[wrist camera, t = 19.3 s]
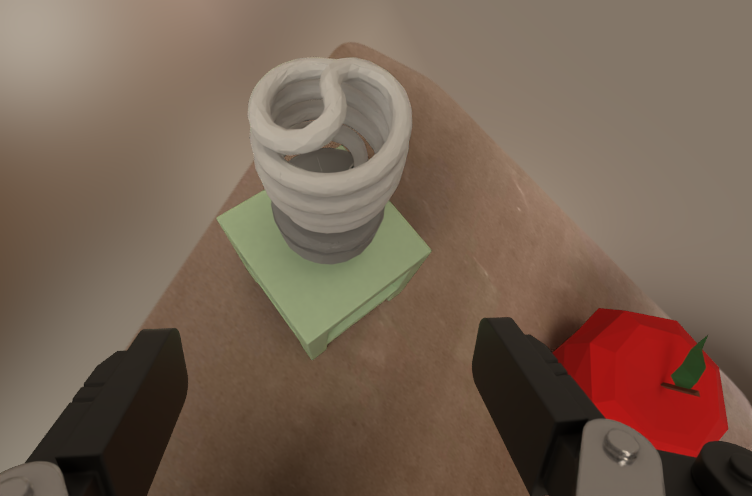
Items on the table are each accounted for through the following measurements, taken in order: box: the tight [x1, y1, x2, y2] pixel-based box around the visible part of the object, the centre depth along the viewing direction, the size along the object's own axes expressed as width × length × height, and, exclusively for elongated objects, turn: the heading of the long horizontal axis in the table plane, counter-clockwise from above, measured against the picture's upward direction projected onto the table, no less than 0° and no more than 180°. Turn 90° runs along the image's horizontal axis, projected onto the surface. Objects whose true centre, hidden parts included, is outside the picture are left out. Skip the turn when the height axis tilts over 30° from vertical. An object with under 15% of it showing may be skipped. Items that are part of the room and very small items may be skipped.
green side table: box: [217, 145, 432, 360], centre depth 28 cm, size 9×9×10 cm
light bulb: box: [248, 57, 412, 265], centre depth 17 cm, size 6×6×12 cm
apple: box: [553, 308, 728, 458], centre depth 27 cm, size 11×11×10 cm
